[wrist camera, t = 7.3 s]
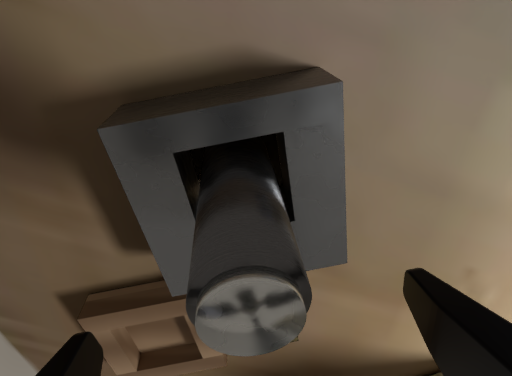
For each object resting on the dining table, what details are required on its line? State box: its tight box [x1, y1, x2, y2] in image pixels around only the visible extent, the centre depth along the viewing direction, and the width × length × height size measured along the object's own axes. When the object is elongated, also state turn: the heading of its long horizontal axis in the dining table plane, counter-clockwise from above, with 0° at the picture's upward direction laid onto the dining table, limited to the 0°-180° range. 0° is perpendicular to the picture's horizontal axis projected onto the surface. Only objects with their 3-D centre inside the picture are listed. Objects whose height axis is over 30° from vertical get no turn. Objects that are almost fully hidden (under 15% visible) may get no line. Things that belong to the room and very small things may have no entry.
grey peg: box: [186, 136, 312, 356], centre depth 13 cm, size 4×4×11 cm
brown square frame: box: [77, 280, 227, 376], centre depth 23 cm, size 8×8×2 cm
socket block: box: [97, 67, 347, 297], centre depth 17 cm, size 10×10×4 cm
